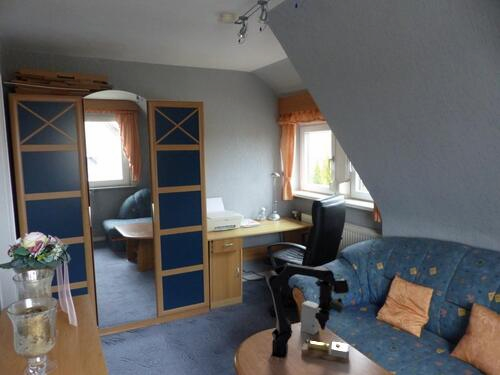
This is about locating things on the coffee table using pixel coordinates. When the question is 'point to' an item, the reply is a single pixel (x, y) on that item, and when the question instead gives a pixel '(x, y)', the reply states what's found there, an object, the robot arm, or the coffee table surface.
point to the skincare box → (309, 317)
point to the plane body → (322, 354)
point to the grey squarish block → (339, 349)
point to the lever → (317, 345)
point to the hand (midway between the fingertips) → (324, 325)
